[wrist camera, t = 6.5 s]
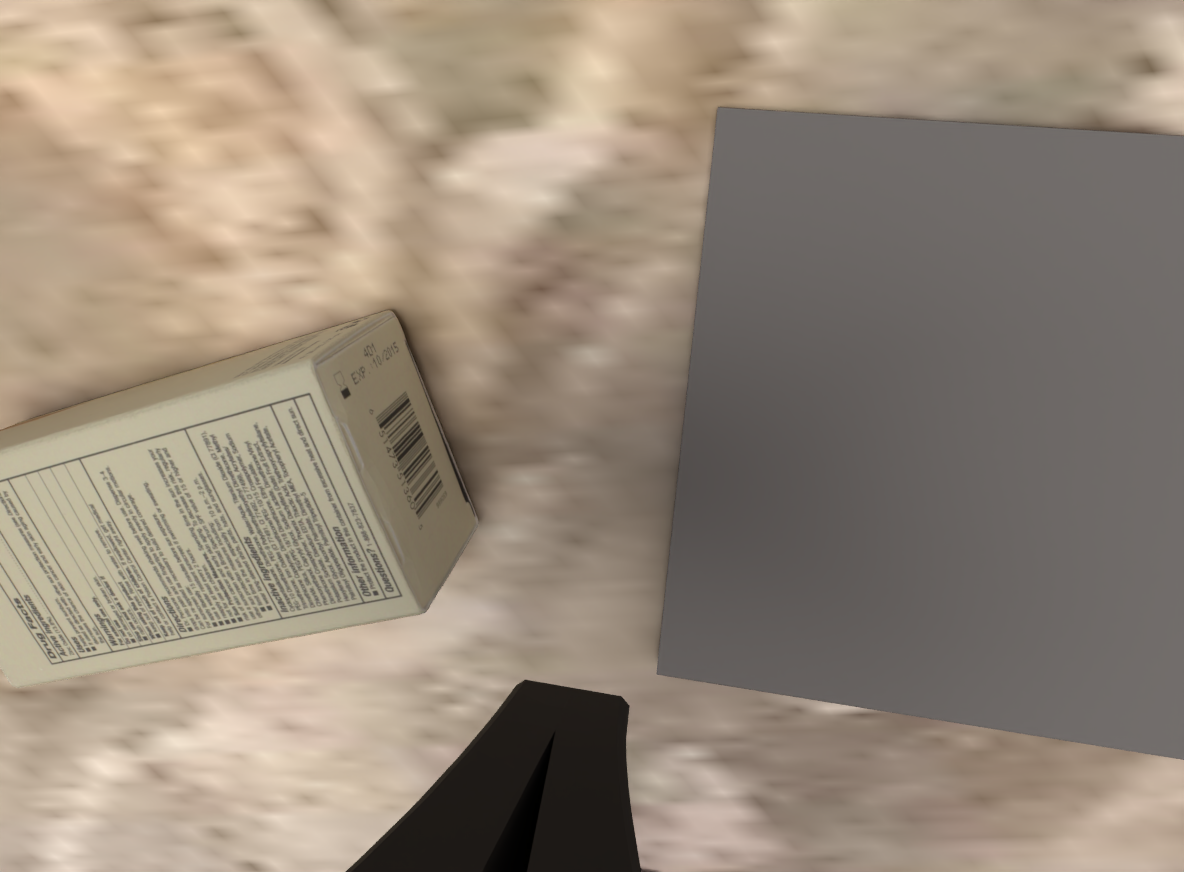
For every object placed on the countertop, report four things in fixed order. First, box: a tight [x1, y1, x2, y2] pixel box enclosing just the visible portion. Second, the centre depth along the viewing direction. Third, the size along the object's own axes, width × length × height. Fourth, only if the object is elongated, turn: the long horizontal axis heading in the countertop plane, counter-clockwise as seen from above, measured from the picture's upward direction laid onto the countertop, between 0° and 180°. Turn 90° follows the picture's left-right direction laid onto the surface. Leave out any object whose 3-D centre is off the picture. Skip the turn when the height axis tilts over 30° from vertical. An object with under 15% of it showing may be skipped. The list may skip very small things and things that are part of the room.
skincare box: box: [0, 310, 478, 688], centre depth 20 cm, size 6×4×12 cm
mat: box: [657, 107, 1184, 760], centre depth 18 cm, size 14×17×1 cm
